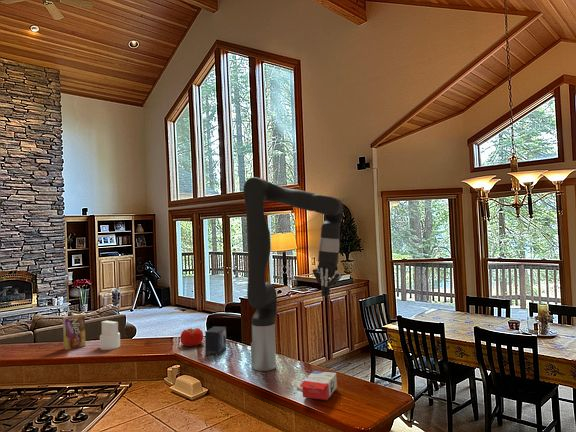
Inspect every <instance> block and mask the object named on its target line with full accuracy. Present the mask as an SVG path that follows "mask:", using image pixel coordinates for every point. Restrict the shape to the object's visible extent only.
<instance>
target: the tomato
mask: <svg viewBox="0 0 576 432" xmlns="http://www.w3.org/2000/svg"><path fill="white" fill-rule="evenodd" d="M179 338H180V339H179V340H180V343H181V344H182V345H184V346H185V347H188V348H189V347H197V346H198V345H201V344H202V342H203V339H204V333H203V330H202V329H200V328H199V327H198V328H197V327H196V328H188V329H184V330H183V331H182V332H181V333H180V337H179Z"/></svg>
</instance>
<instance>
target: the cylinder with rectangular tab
mask: <svg viewBox="0 0 576 432" xmlns="http://www.w3.org/2000/svg"><path fill="white" fill-rule="evenodd" d="M119 347H121V333H120V332H119V322H118V321H112V320H103V321H101V334H100V335H99V349H100V350H103V351H105V350H108V351H109V350H116V349H118V348H119Z"/></svg>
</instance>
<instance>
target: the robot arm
mask: <svg viewBox="0 0 576 432" xmlns="http://www.w3.org/2000/svg"><path fill="white" fill-rule="evenodd" d="M243 198H244V206H245V213H246V240H247V241H246V242H247V243H246V245H247V266H248V267H247V269H248V276H247V288H246V289H247V290H246V292H247V293H246V295H247V301H248V303H249V305H250V306H251V307H252V308H254V309H255V312H254V314H253V315H252V317H251V341H252V342H250V363H251V364H250V365H251V367H252V368H253V370H255V371H259V372H267V371H272V370H274V369H276V368H277V356H276V355H277V352H276V349H277V348H276V347H277V346H276V323H275V322H276V321H275V320H276V316H277V311H278V310H277V308H278V307H277V305H278V304H277V303H278V302H277V301H278V298H277V295H278V294H277V289H276V288H275V286H274V285H273V284H272V283H271V282H268V281H267V282H266V269H267V265H268V263H269V258H270V255H271V249H272V248H271V247H272V245H271V233H270V229H269V224H268V222H267V219H266V217H265V213H264V212H265V211H264V202H276V203H281V204H285V205H288V206H290V207H292V208H297V209H300V210H305V211H310V212H315V213H318V214H321V215H324V221H323V223H322V225H321V230H320V240H319V244H318V245H319V246H318V259H317V262H318V264H317V268H314V269H312V273H313V275H314V277H315V279H316V282H317V284H319V285H321V297H325V298H327V297H328V298H329V296H330V291H331V287H333V286H335V285H336V284H337V283H338V282H339V280H340V279H341V278H342V277H343V274H342V273H340V272H339V271H338V264H339V253H340V235H341V224H342V220H343V214H344V204H343V202H342V200H341V199H340V198H336V197H333V196H328V195H323V194H317V193H315V192H311V191H307V190H306V191H305V190H301V189H297V188H295V189H294V188H288V187H283V186H280V185H277V184H274V183H272V182H270V181H267V180H266V179H264V178H260V177H255V176H253V177H249V178H248V179H247V180H246V181H245V182H244V185H243Z"/></svg>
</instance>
